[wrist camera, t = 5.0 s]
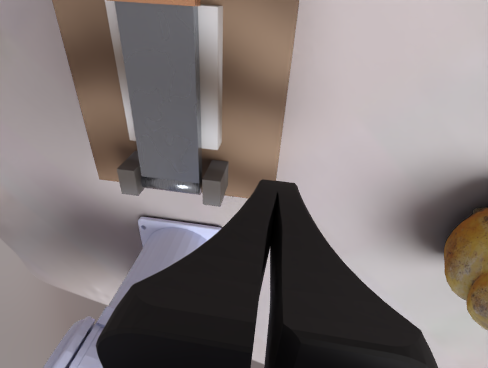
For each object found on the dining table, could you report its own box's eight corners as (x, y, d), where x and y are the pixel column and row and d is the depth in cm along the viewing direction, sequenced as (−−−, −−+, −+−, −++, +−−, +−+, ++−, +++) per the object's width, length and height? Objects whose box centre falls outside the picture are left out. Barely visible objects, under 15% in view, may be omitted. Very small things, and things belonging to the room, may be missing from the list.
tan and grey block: (206, 188, 21) (200, 200, 20) (146, 181, 21) (138, 192, 20) (201, -57, 14) (192, -63, 12) (111, -62, 14) (94, -68, 13)
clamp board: (274, 190, 24) (269, 232, 19) (109, 169, 25) (71, 205, 21) (311, -100, 14) (318, -138, 10) (43, -107, 15) (-49, -144, 11)
